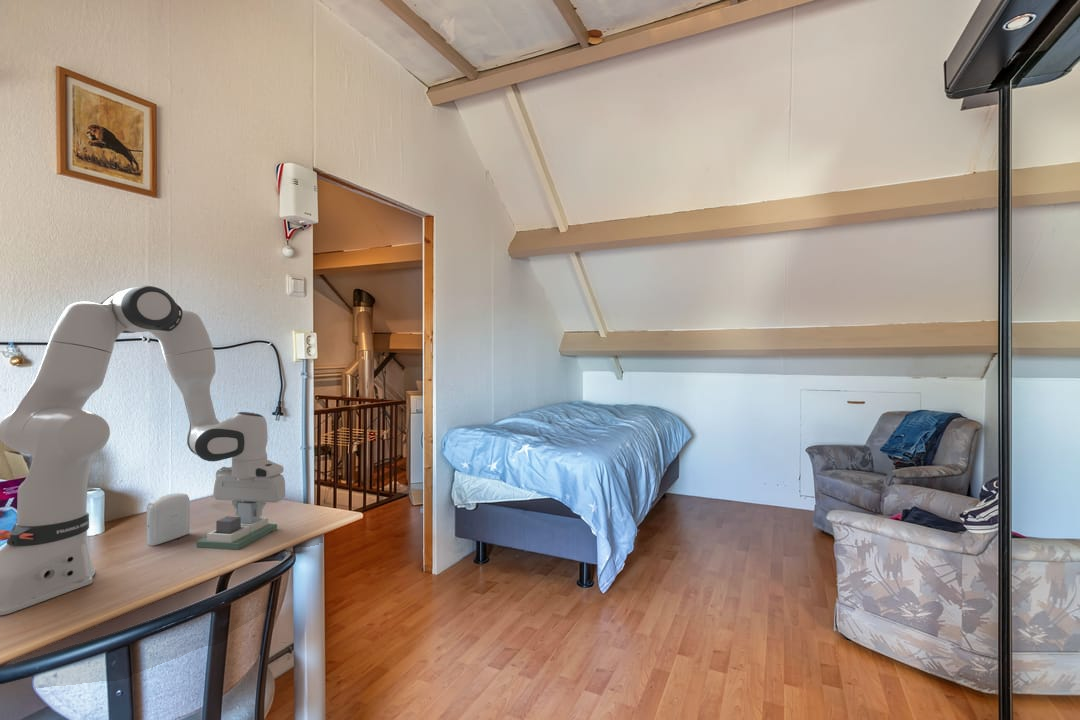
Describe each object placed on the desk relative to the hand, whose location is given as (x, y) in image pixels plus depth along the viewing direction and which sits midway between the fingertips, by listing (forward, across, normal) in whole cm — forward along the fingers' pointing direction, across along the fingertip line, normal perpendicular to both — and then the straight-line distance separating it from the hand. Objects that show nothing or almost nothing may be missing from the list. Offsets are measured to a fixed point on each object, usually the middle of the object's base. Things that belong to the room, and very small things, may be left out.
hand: (248, 515), depth 142 cm
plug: (+3, 0, 0) cm, 3 cm away
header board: (+5, 0, -4) cm, 6 cm away
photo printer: (+5, -18, -8) cm, 20 cm away
